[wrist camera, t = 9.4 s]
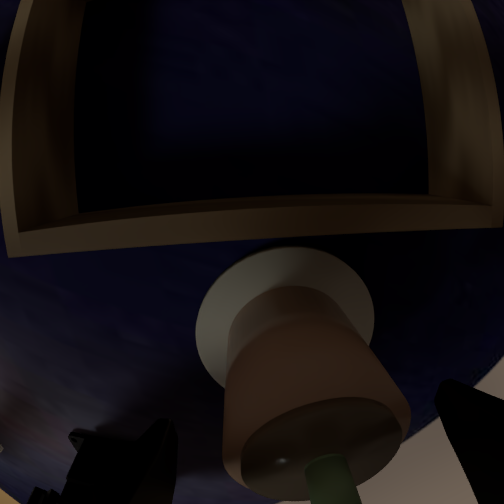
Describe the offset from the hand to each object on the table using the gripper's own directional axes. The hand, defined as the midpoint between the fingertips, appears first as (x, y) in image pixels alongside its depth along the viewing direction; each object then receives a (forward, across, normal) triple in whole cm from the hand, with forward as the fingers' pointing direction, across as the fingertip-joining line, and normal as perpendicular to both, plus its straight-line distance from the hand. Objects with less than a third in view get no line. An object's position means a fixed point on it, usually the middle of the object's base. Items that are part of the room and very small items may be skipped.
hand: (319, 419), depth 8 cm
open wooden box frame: (+6, +1, -13) cm, 14 cm away
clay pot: (+5, 0, 0) cm, 5 cm away
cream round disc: (+6, 0, 0) cm, 6 cm away
